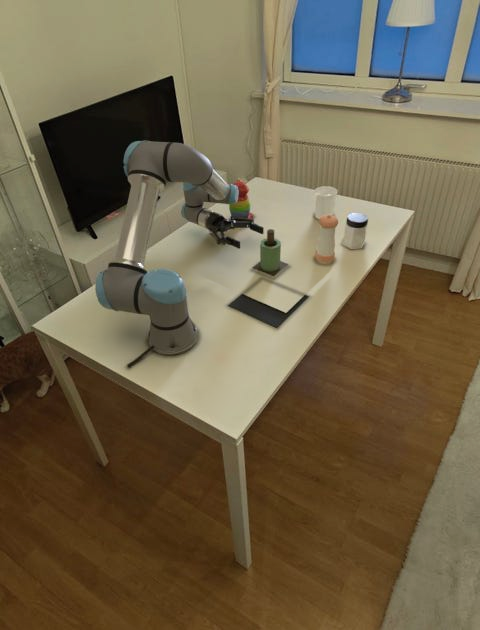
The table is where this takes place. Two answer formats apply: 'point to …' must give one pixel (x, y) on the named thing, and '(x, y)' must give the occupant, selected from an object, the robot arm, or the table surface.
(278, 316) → the placemat
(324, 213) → the candle holder
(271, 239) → the peg stand
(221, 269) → the table surface
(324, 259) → the pepper shaker
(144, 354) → the robot arm
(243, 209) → the stacking bear
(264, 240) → the hollow cylinder
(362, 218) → the jar
